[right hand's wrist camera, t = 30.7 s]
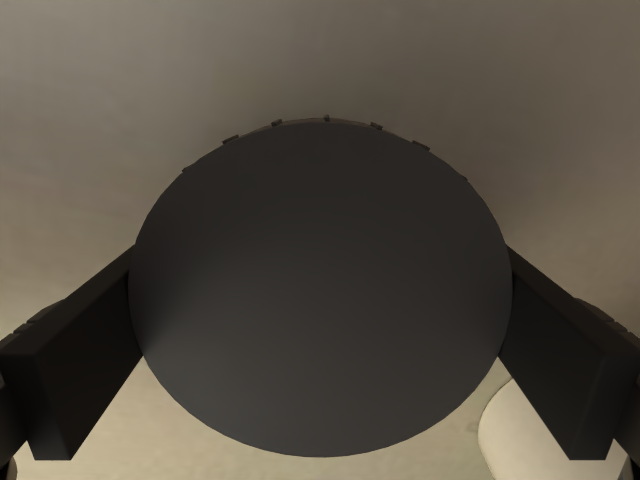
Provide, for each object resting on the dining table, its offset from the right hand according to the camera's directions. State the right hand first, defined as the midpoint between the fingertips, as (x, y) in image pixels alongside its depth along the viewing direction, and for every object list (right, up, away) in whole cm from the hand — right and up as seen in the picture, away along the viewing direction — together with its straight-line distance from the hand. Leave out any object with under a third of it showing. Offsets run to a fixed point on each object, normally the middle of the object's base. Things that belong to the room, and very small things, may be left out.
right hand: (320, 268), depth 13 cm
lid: (0, -1, -3) cm, 3 cm away
